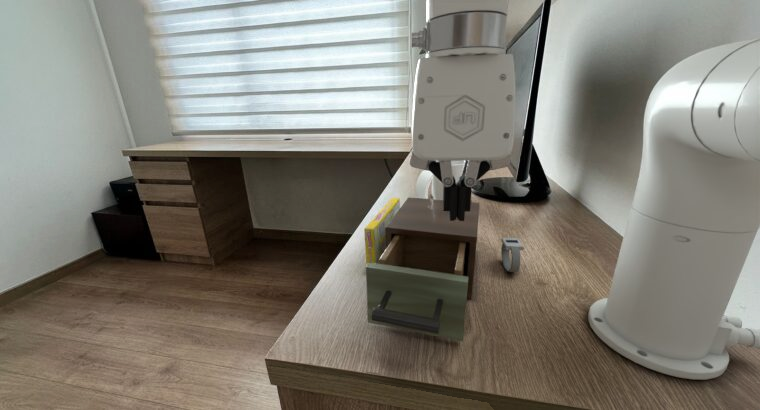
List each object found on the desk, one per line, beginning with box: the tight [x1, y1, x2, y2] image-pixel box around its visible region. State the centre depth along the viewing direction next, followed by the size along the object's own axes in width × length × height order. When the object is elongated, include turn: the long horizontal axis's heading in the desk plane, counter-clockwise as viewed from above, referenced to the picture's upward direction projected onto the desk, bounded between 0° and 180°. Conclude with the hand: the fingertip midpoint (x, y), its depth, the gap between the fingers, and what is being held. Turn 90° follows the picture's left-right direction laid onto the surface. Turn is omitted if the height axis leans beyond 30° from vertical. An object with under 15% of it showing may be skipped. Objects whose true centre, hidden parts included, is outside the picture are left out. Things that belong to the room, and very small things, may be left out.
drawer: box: [365, 234, 468, 342], centre depth 41 cm, size 18×12×8 cm, turn 162°
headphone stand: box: [414, 170, 433, 199], centre depth 77 cm, size 5×6×12 cm
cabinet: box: [385, 196, 480, 300], centre depth 52 cm, size 15×13×10 cm
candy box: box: [363, 197, 401, 266], centre depth 58 cm, size 16×2×8 cm, turn 162°
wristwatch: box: [500, 237, 525, 273], centre depth 52 cm, size 6×3×5 cm, turn 174°
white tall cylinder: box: [431, 161, 465, 200], centre depth 67 cm, size 7×7×15 cm
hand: (455, 216), depth 37 cm, fingers closed
